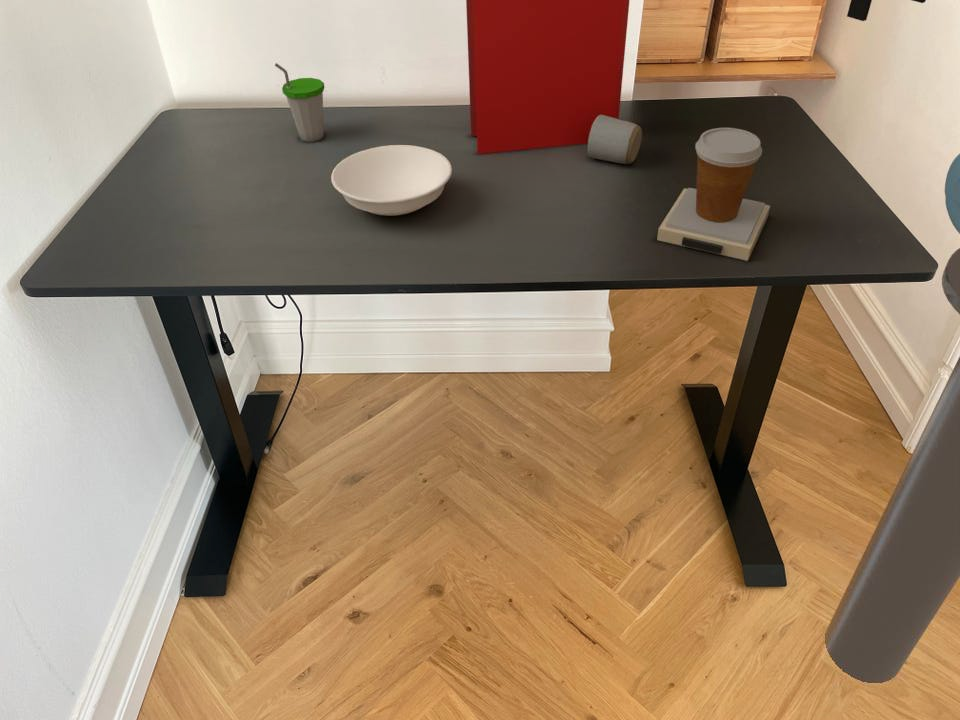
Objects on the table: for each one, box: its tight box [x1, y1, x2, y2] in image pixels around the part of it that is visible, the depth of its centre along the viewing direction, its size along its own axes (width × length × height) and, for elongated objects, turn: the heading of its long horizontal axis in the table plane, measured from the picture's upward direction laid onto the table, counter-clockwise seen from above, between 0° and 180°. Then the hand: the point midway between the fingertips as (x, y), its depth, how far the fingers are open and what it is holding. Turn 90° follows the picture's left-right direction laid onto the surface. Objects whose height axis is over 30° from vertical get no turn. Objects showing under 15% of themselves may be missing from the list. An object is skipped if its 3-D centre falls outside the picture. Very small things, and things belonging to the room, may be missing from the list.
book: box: [465, 0, 631, 155], centre depth 140 cm, size 27×8×32 cm, turn 99°
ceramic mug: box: [587, 115, 643, 165], centre depth 141 cm, size 11×8×8 cm
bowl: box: [330, 144, 453, 217], centre depth 130 cm, size 20×20×6 cm
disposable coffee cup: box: [695, 127, 763, 222], centre depth 118 cm, size 10×10×12 cm
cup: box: [274, 62, 325, 143], centre depth 149 cm, size 8×8×15 cm
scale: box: [656, 187, 771, 262], centre depth 123 cm, size 14×15×3 cm
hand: (886, 9), depth 114 cm, fingers open, 13 cm apart
